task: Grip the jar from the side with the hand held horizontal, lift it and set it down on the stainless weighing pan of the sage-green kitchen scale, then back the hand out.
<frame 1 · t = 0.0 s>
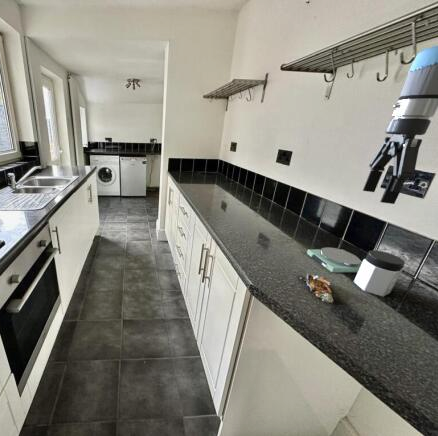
hand: (376, 196, 68), 30 cm above the table, tool pointing down, fingers open, 13 cm apart
jar: (370, 288, 75), on the table
kitchen scale: (336, 263, 89), on the table
pastry: (319, 291, 73), on the table
weighing pan: (339, 256, 87), point 3 cm above the table, slide at 0.0 cm
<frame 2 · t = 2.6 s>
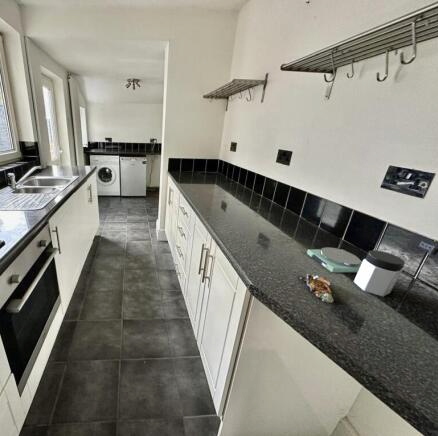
nothing on the table moved.
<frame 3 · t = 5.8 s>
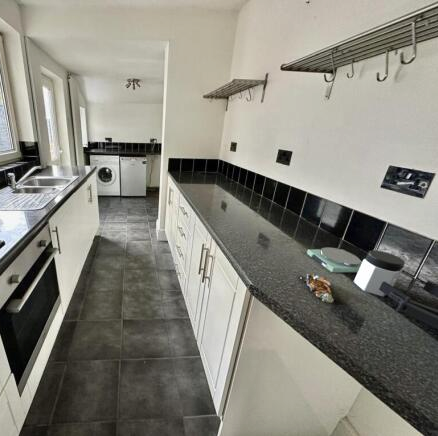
hand: (403, 285, 66), 7 cm above the table, tool horizontal, fingers open, 13 cm apart
nothing on the table moved.
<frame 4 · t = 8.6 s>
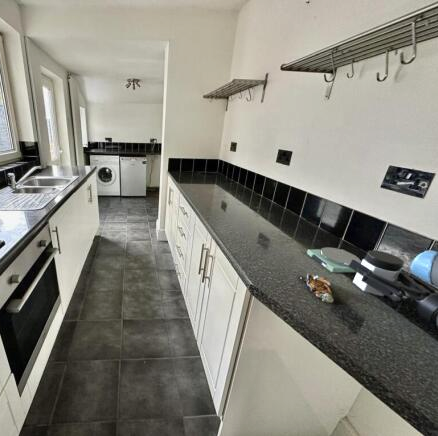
hand: (364, 263, 77), 6 cm above the table, tool horizontal, fingers closed on jar, 8 cm apart
jar: (369, 288, 75), on the table, touching gripper
everything else where it was.
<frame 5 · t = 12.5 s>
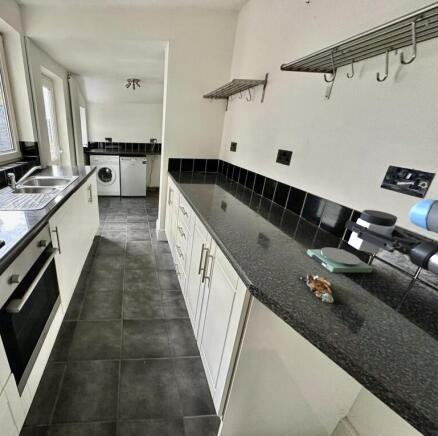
hand: (359, 223, 79), 18 cm above the table, tool horizontal, fingers closed on jar, 8 cm apart
jar: (364, 247, 77), point 11 cm above the table, touching gripper
everything else where it was.
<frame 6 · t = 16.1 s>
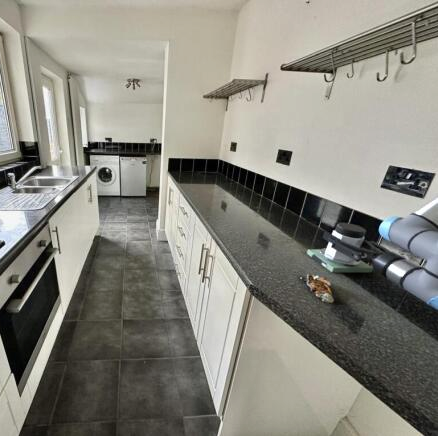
hand: (335, 234, 89), 10 cm above the table, tool horizontal, fingers closed on jar, 8 cm apart
jar: (339, 256, 87), point 3 cm above the table, touching gripper, weighing pan
weighing pan: (339, 256, 88), point 3 cm above the table, slide at -0.2 cm, touching jar
everything else where it was.
when the fingers open (10 cm above the table, at t = 16.3 s): jar stays where it is, resting on weighing pan.
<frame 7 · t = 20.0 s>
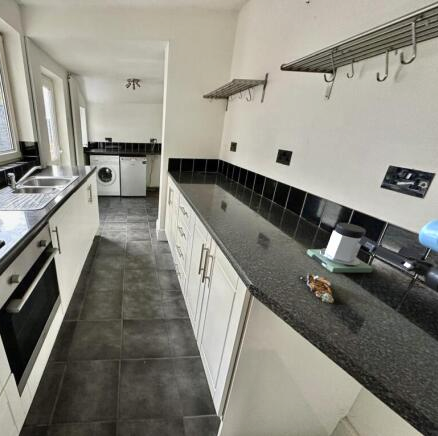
hand: (381, 244, 75), 13 cm above the table, tool horizontal, fingers open, 13 cm apart
jar: (339, 256, 87), point 3 cm above the table, touching weighing pan
everything else where it was.
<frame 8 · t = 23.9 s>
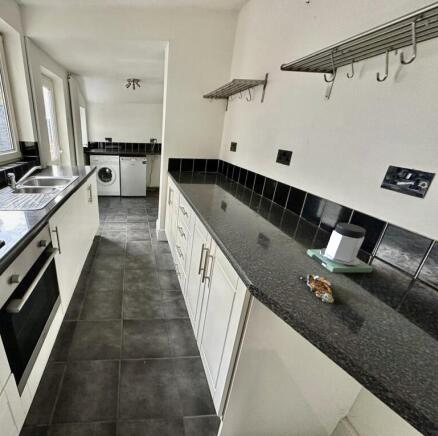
nothing on the table moved.
at the end: jar inside the target area on the kitchen scale (0.0 cm from its centre), point 3.2 cm above the kitchen scale's base; jar tilted 0°; the gripper is holding nothing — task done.
